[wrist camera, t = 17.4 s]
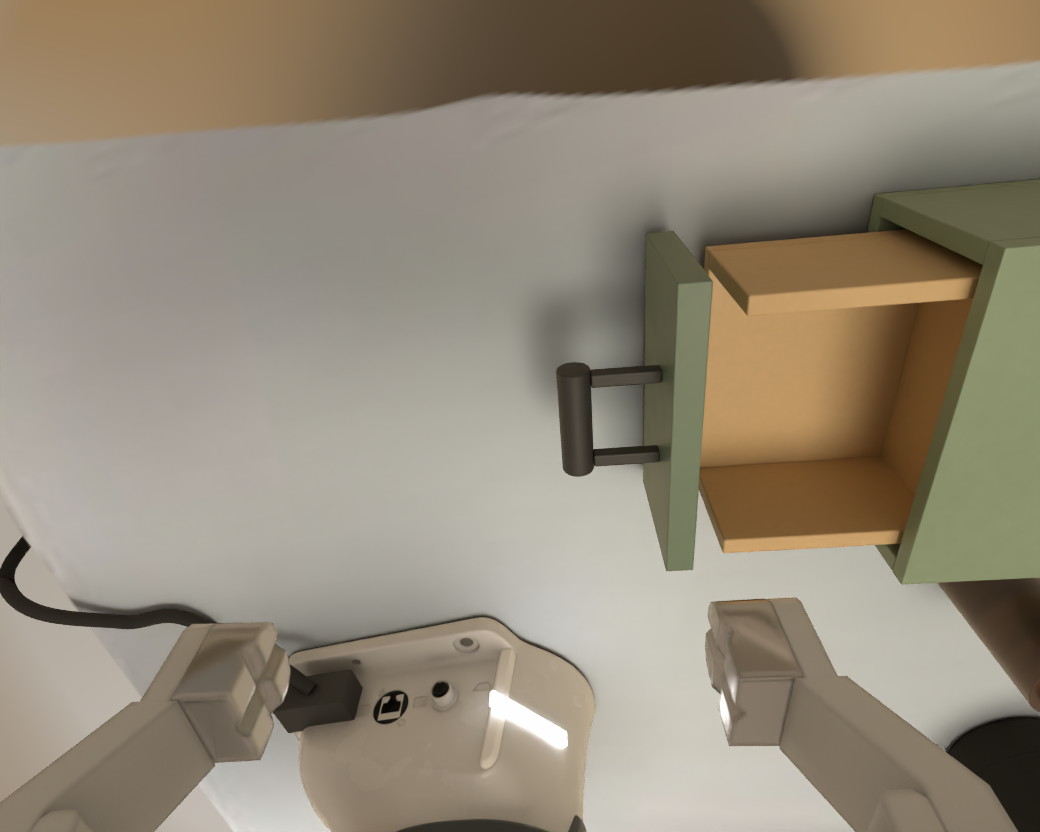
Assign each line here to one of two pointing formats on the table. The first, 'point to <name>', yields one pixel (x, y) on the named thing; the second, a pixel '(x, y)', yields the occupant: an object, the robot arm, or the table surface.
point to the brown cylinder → (1005, 625)
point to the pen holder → (1007, 766)
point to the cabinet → (980, 392)
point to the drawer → (784, 387)
